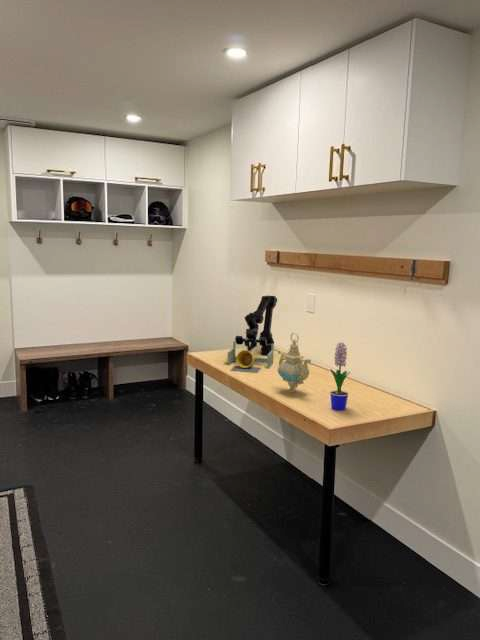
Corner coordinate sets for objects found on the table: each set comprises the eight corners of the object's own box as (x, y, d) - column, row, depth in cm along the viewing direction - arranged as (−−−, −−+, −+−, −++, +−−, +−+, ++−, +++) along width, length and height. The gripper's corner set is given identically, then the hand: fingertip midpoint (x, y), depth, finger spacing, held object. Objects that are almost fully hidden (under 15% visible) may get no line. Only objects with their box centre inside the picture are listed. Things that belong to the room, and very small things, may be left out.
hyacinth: (328, 411, 218) (331, 344, 214) (328, 404, 228) (331, 340, 224) (348, 413, 216) (352, 345, 212) (347, 405, 226) (351, 341, 222)
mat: (234, 366, 297) (234, 365, 297) (261, 368, 293) (261, 367, 293) (230, 370, 285) (230, 370, 285) (257, 373, 282) (257, 372, 282)
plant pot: (236, 359, 300) (232, 358, 291) (249, 347, 299) (245, 346, 290) (247, 372, 298) (243, 371, 288) (260, 360, 297) (256, 359, 287)
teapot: (317, 396, 239) (320, 335, 235) (298, 400, 233) (300, 337, 229) (287, 384, 259) (289, 328, 255) (269, 387, 253) (270, 329, 249)
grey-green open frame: (233, 359, 313) (233, 341, 311) (273, 362, 307) (273, 343, 305) (227, 365, 298) (227, 345, 296) (269, 368, 293) (269, 348, 291)
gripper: (236, 322, 300) (231, 343, 291) (266, 324, 296) (262, 346, 287) (238, 333, 308) (234, 354, 299) (268, 335, 304) (264, 356, 295)
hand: (248, 352), depth 295 cm, fingers closed
